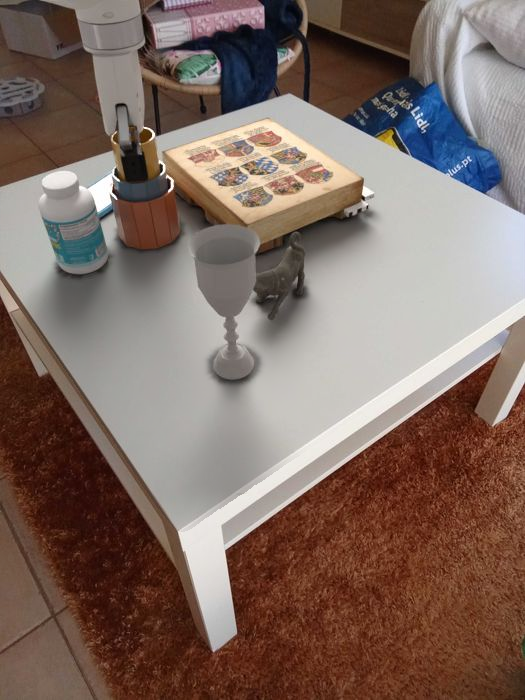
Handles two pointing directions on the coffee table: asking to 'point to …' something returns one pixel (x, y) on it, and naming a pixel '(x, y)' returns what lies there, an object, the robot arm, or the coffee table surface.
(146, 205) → the cup stack
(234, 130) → the book
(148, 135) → the ochre cup
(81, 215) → the pill bottle
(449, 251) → the coffee table surface
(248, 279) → the chalice
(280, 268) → the dog figurine
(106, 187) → the smartphone
